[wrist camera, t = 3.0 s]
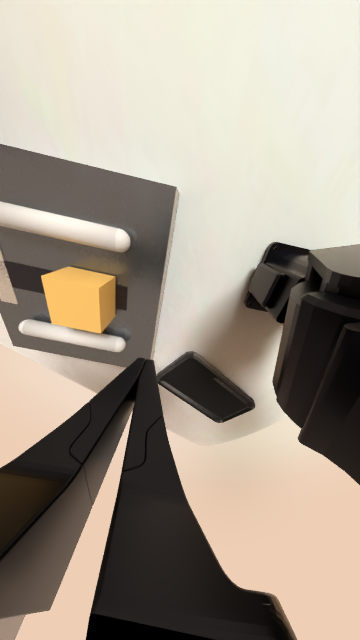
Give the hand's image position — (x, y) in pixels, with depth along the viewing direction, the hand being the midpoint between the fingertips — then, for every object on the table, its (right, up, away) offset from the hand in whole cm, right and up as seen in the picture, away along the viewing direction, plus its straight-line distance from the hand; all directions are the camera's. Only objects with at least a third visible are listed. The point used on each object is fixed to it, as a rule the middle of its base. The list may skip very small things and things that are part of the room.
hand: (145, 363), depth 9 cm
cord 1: (-9, +1, +9) cm, 12 cm away
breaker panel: (-8, +7, +9) cm, 14 cm away
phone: (+6, -8, +17) cm, 20 cm away
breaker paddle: (-6, +5, +6) cm, 10 cm away
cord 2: (-7, +10, +4) cm, 12 cm away
